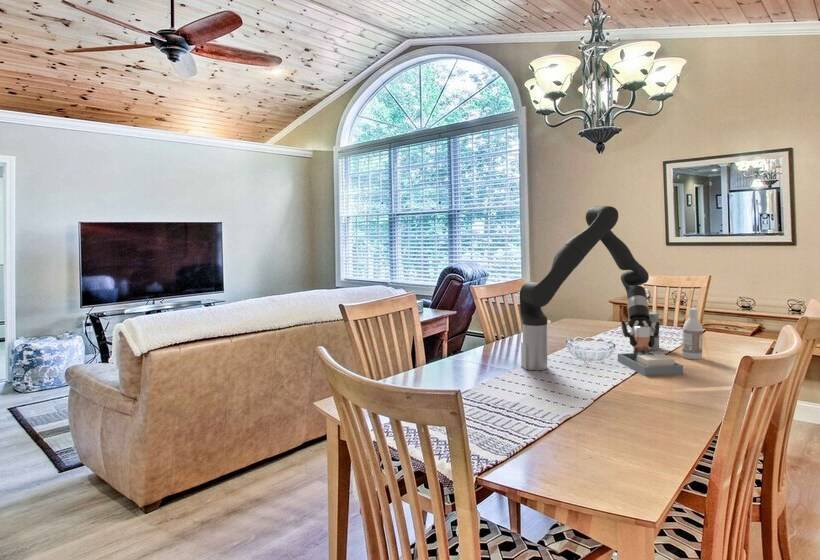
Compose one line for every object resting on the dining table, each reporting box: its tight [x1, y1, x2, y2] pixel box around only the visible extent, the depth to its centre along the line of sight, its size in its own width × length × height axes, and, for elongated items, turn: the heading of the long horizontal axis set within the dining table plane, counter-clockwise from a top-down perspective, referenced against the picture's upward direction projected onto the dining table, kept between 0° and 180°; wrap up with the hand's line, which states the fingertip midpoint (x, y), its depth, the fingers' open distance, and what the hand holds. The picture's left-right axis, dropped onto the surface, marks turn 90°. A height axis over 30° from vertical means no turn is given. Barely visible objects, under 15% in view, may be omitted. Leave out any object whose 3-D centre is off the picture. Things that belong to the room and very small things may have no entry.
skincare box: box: [649, 311, 660, 351], centre depth 221 cm, size 8×7×16 cm
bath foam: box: [681, 307, 704, 361], centre depth 203 cm, size 7×7×20 cm
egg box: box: [637, 353, 675, 367], centre depth 184 cm, size 10×7×5 cm
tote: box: [617, 351, 684, 377], centre depth 188 cm, size 14×20×4 cm
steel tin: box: [632, 325, 651, 361], centre depth 193 cm, size 6×6×13 cm
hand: (642, 345), depth 191 cm, fingers closed on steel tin, 5 cm apart
